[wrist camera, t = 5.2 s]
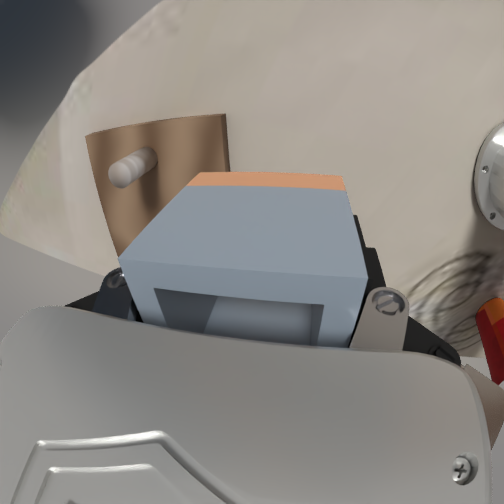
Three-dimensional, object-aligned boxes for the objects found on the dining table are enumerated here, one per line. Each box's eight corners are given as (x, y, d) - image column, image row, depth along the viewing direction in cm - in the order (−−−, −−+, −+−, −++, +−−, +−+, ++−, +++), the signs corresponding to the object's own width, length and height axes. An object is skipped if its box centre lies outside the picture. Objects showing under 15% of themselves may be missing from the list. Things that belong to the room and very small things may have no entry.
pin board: (225, 113, 23) (199, 125, 18) (238, 265, 33) (223, 304, 28) (93, 132, 26) (54, 150, 21) (125, 255, 36) (99, 285, 31)
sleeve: (341, 176, 10) (368, 277, 5) (327, 288, 13) (327, 402, 8) (199, 172, 11) (117, 258, 6) (215, 279, 14) (172, 380, 9)
